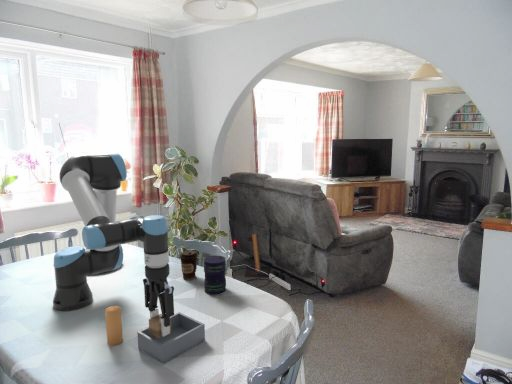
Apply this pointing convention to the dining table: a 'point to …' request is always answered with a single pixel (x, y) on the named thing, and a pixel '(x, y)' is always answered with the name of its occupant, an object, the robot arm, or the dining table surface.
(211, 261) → the storage jar
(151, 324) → the walnut cube
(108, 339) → the tan dome-topped cylinder
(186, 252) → the coffee cup
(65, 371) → the dining table surface
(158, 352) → the tote
